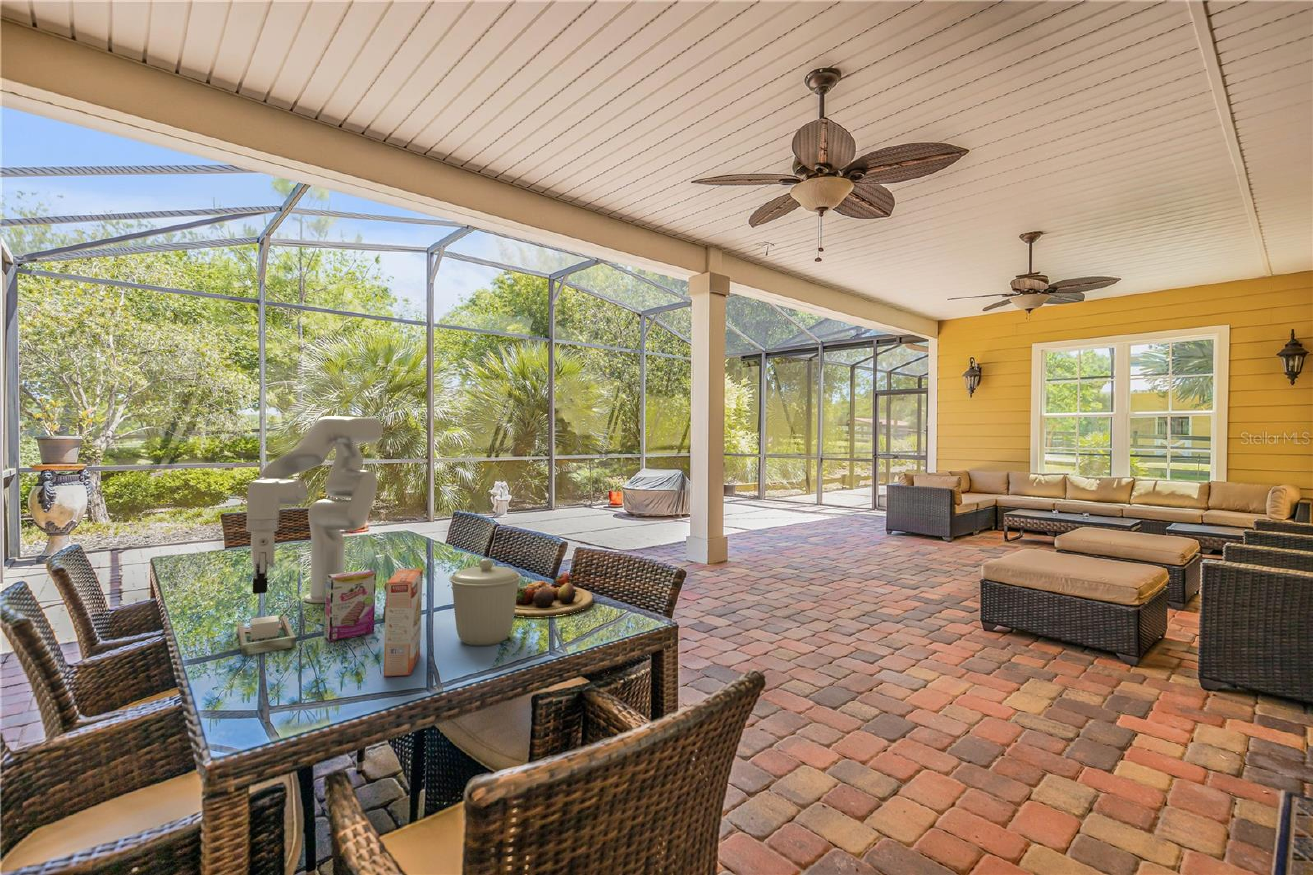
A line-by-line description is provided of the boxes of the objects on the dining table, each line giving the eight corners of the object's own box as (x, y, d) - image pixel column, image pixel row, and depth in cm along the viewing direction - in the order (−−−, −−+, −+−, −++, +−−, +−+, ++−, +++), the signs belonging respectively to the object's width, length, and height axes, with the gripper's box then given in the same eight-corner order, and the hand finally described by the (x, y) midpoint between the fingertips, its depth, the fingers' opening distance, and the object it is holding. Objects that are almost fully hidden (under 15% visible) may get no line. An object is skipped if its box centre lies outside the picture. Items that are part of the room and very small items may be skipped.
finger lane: (285, 623, 170) (285, 614, 170) (295, 646, 151) (296, 636, 151) (237, 629, 163) (237, 620, 163) (242, 655, 145) (242, 645, 144)
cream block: (277, 630, 164) (277, 615, 164) (278, 636, 159) (278, 621, 159) (250, 633, 161) (251, 618, 161) (250, 640, 156) (251, 624, 156)
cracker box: (411, 676, 134) (413, 581, 134) (382, 678, 133) (384, 582, 133) (422, 654, 148) (423, 567, 148) (395, 655, 147) (397, 568, 147)
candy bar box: (329, 642, 154) (331, 578, 154) (323, 638, 158) (324, 574, 158) (375, 633, 162) (376, 571, 162) (368, 629, 166) (369, 568, 166)
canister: (496, 655, 148) (498, 568, 148) (433, 646, 153) (434, 562, 153) (532, 632, 165) (534, 555, 165) (474, 625, 171) (476, 550, 171)
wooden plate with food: (544, 587, 216) (544, 563, 216) (613, 601, 198) (613, 576, 198) (469, 608, 190) (469, 582, 190) (540, 627, 172) (540, 598, 172)
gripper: (281, 527, 164) (278, 596, 163) (276, 522, 176) (273, 586, 175) (247, 529, 159) (244, 600, 159) (244, 523, 171) (241, 589, 171)
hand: (259, 592), depth 167 cm, fingers closed
